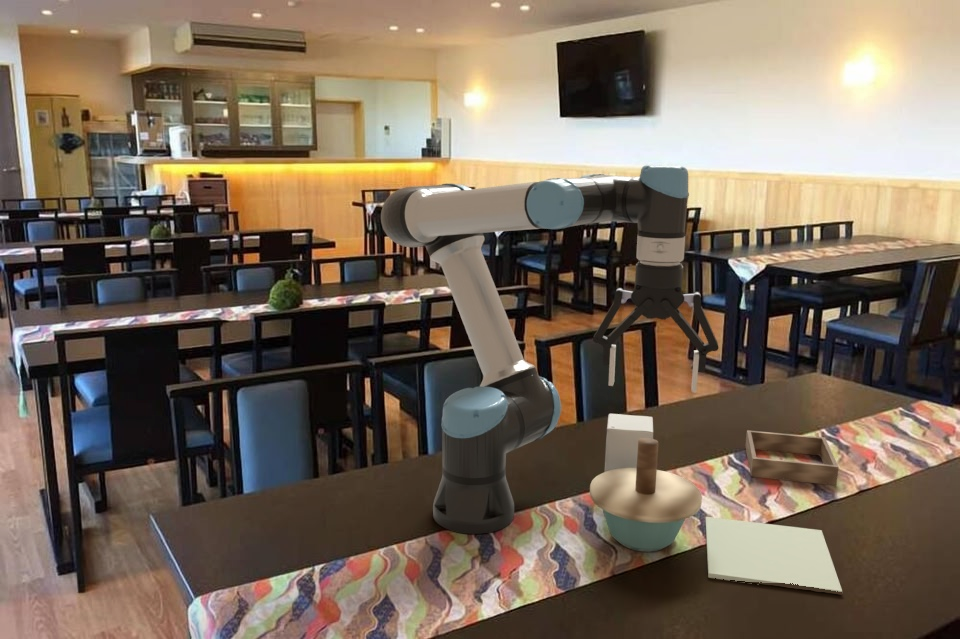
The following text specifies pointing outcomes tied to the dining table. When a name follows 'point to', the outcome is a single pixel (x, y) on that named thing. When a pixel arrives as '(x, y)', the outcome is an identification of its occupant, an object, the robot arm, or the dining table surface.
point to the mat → (769, 554)
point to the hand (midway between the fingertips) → (652, 387)
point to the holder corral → (791, 469)
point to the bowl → (642, 533)
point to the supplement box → (625, 439)
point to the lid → (646, 490)
